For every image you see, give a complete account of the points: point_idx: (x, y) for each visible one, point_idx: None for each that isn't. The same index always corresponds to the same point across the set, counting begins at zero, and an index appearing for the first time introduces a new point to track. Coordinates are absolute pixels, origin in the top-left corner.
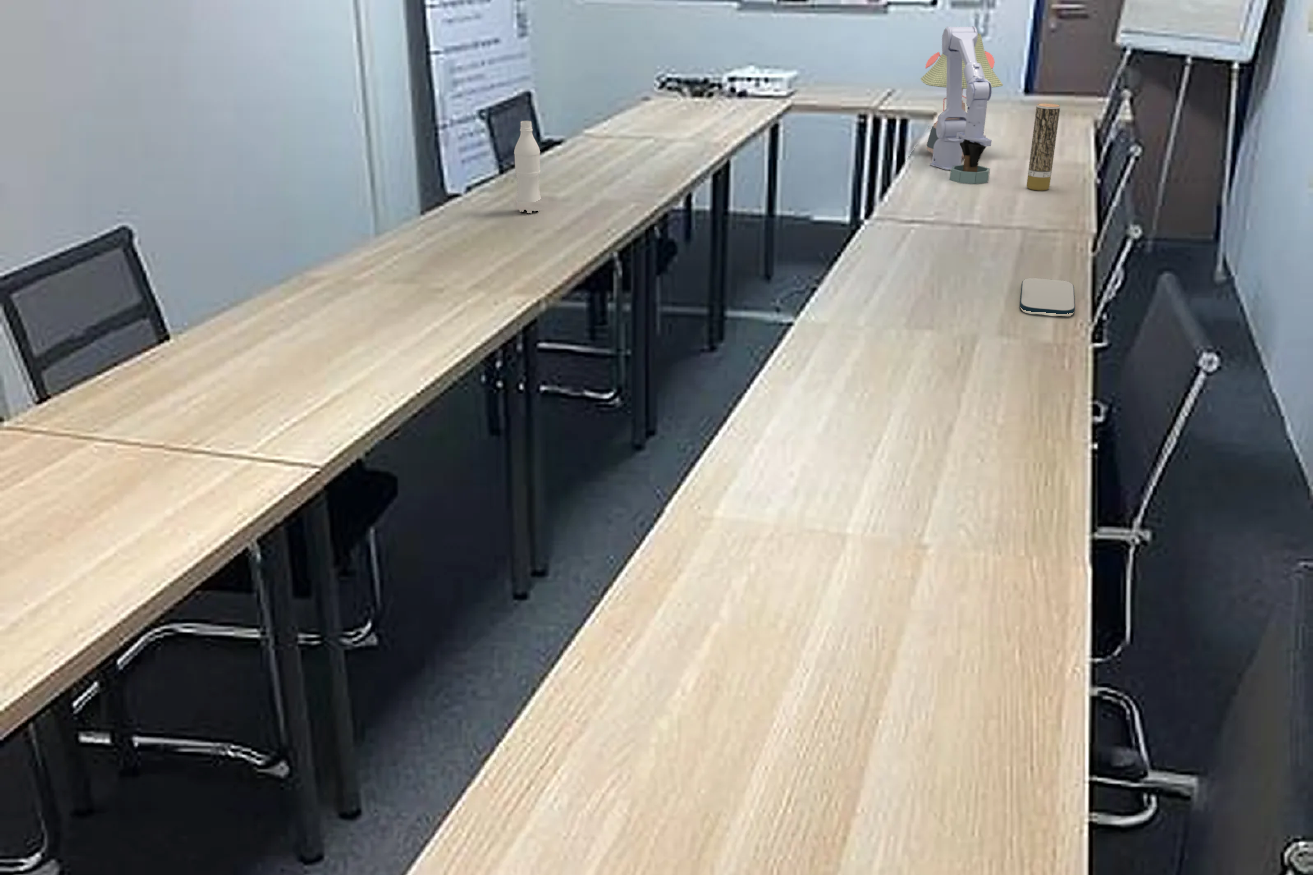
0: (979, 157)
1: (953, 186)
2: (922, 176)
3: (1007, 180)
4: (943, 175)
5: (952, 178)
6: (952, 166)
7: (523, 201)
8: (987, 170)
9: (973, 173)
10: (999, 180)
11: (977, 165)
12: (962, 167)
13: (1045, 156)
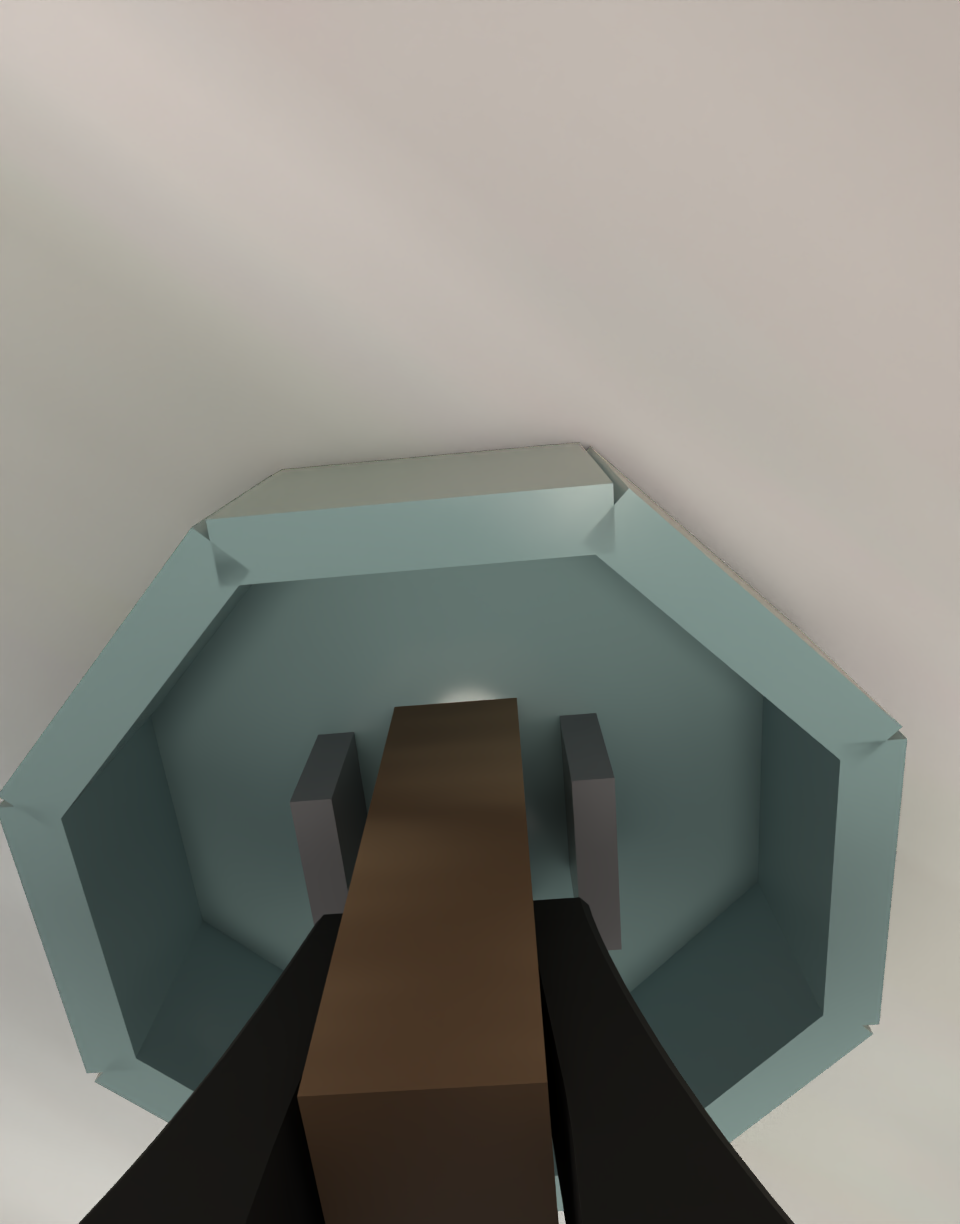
0: (685, 1096)
1: (771, 1181)
2: (68, 1218)
3: (821, 67)
4: (49, 967)
5: None
6: (155, 1112)
7: None
8: (803, 695)
9: (826, 1044)
10: (739, 265)
11: (527, 852)
12: (106, 863)
13: None
